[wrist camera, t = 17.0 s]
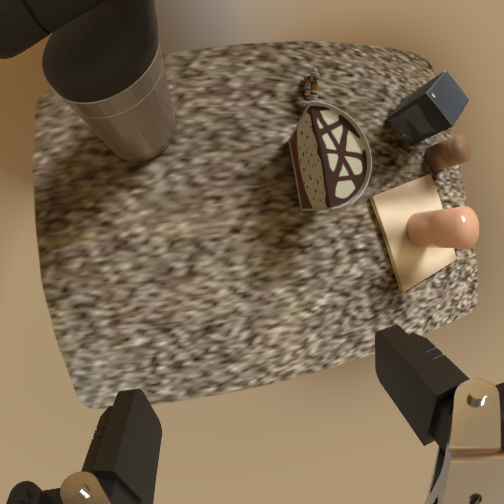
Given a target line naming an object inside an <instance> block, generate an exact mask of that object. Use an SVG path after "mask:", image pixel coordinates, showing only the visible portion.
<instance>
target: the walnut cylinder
mask: <svg viewBox="0 0 504 504" xmlns="http://www.w3.org/2000/svg"><path fill="white" fill-rule="evenodd" d="M470 157H471V150H470V146H469V144H468V142H467V141H466V139H465V138H464V137H462V136H460V135H457V136H454V137H452V138H449V139H447V140H445V141H442V142H440V143H438V144H435V145H433V146H431V147H428V148H427V149H426V151H425V159H426V162H427V164H428V166H429V167H430V168H431V169H432V170H435V171H438V170H441V169H445V168H448V167H451V166H454V165H457V164H461V163H464V162H467V161H469V160H470Z"/></svg>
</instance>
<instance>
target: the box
mask: <svg viewBox="0 0 504 504" xmlns="http://www.w3.org/2000/svg"><path fill="white" fill-rule="evenodd" d="M468 102H469V99H468V98H467V97H466V95H465V94H464V93H463V91H462V90H461V89H460V87H459V86H458V85H457V84H456V82H455V81H454V80H453V78H452V77H451V76H450V75H449V74H448V72H447V71H444V72H442V73H441V74H439V75H438V76H436V77H435V78H433V79H432V80H431V81H429V82H428V83H426V84H425V85H423V86H422V87H421V88H419V89H418V90H416V91H415V92H413V93H412V94H410V95H409V96H408V97H407V98H406V99H405V100H404V101H403V102H402V103H401V104H400V105H399V106H398V107H397V108H396V109H395V110H394V111H393V112H392V113H391V114H390V116H389V117H388V118H387V121H388V122H389V123H390V124H391V126H392V127H393V128H394V129H395V130H396V132H397V133H398V134H399V135H400V136H401V137H402V139H403V140H404V141H405V142H406V143H407V145H408V146H411V145H413V144H416V143H418V142H420V141H422V140H424V139H426V138H429V137H431V136H433V135H435V134H437V133H440V132H442V131H444V130H446V129H448V128H450V127H452V126H453V125H454V123H455V122H456V120H457V119H458V117H459V116H460V114H461V113H462V111H463V110H464V108H465V106H466V105H467V103H468Z"/></svg>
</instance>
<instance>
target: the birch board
mask: <svg viewBox="0 0 504 504" xmlns="http://www.w3.org/2000/svg"><path fill="white" fill-rule="evenodd" d="M369 199H370V201H371V204H372V207H373V209H374V212H375V215H376V218H377V221H378V223H379V226H380V229H381V232H382V235H383V238H384V241H385V244H386V247H387V251H388V254H389V257H390V260H391V264H392V267H393V270H394V274H395V277H396V281H397V284H398V288H399V291H401V292H404V291H406V290H408V289H409V288H411V287H413V286H414V285H416V284H418V283H419V282H421V281H423V280H424V279H426V278H428V277H429V276H431V275H432V274H434V273H436V272H437V271H439V270H440V269H442V268H444V267H445V266H447V265H448V264H450V263H451V262H453V261H454V260H456V256H455V251H454V248H422V247H416V246H414V245H413V244H412V243H411V242H410V241H409V239H408V236H407V223H408V220H409V218H410V217H411V216H412V215H413V214H415V213H420V212H427V211H434V210H442V209H443V208H442V205H441V202H440V199H439V196H438V193H437V190H436V187H435V184H434V181H433V179H432V176H431V174H428V175H425V176H423V177H420V178H418V179H415V180H413V181H410V182H408V183H405V184H402V185H400V186H397V187H395V188H392V189H390V190H387V191H385V192H382V193H379V194H377V195H374V196H372V197H369Z"/></svg>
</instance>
